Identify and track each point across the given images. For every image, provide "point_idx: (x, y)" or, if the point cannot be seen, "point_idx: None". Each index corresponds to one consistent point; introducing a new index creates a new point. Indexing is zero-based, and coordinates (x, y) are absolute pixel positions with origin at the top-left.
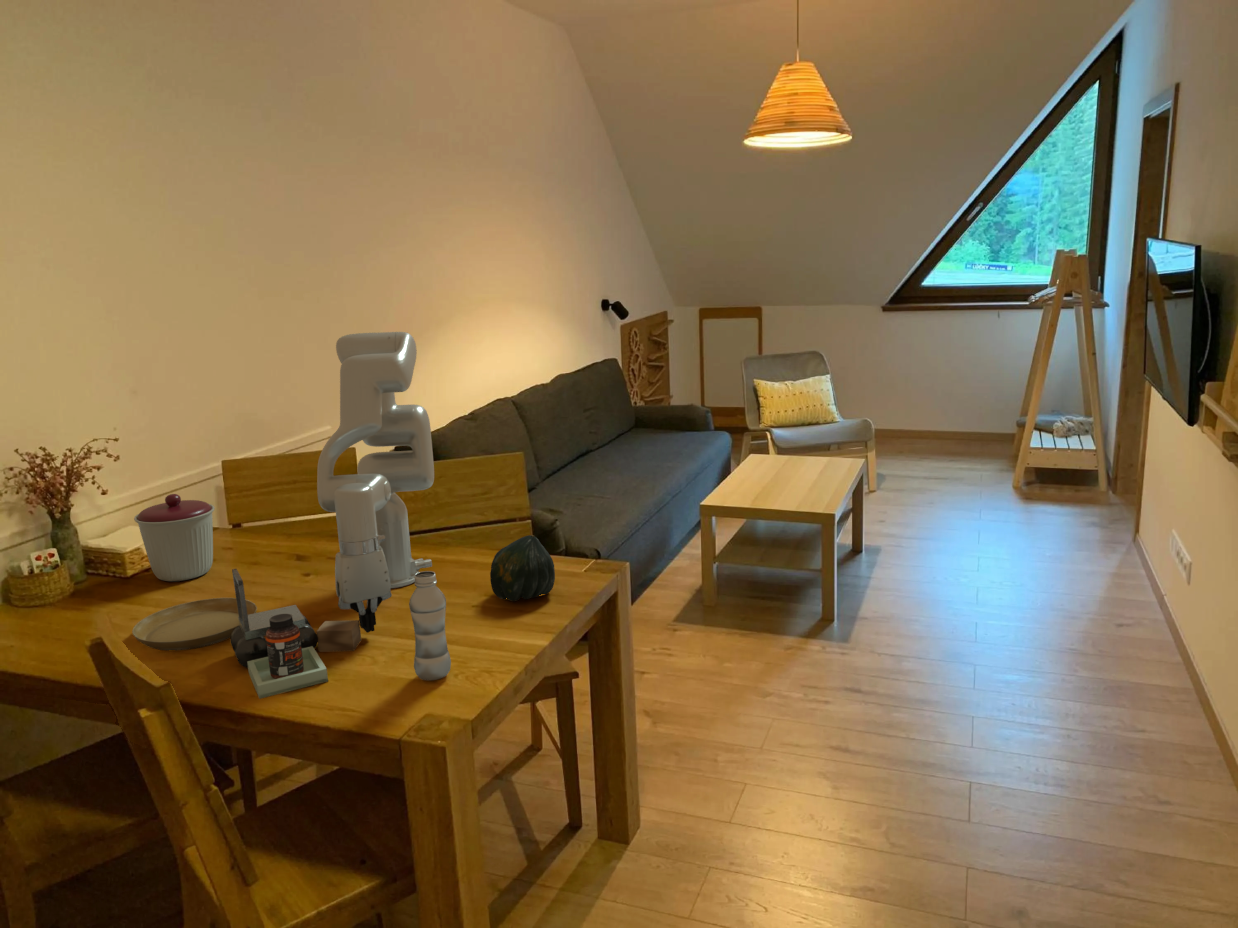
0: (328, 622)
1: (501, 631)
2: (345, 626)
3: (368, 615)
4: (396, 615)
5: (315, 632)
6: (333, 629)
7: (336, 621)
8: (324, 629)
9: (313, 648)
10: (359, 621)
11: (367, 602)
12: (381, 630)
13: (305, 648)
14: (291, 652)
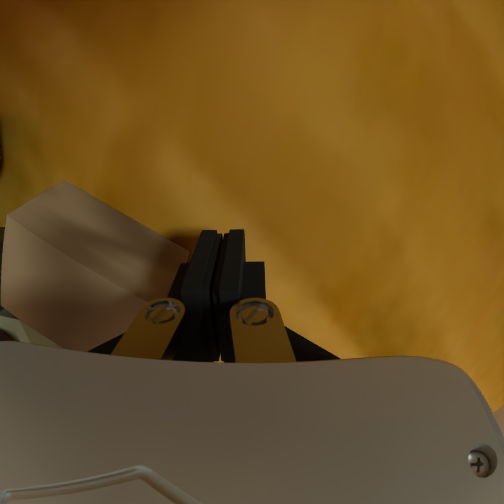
0: (22, 244)
1: (494, 376)
2: (100, 338)
3: (217, 358)
4: (424, 71)
5: (1, 309)
6: (55, 334)
7: (53, 254)
8: (22, 310)
9: (26, 336)
10: (176, 274)
11: (233, 345)
12: (304, 198)
13: (6, 321)
14: None
